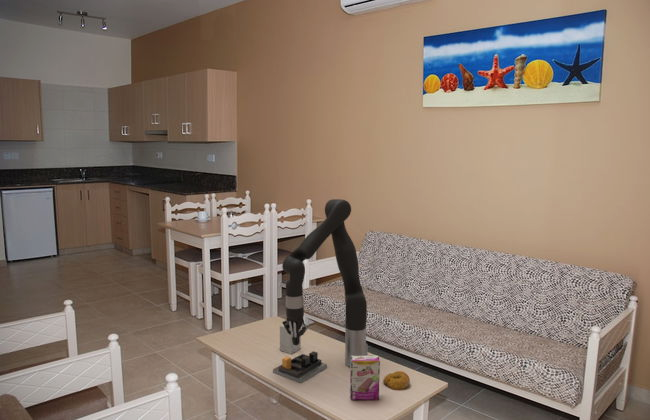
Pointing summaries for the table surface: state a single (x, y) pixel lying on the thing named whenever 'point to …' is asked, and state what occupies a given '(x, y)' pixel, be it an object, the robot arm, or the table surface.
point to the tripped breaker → (286, 362)
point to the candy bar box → (364, 377)
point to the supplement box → (287, 341)
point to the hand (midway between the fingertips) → (296, 344)
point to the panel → (302, 367)
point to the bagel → (397, 380)
